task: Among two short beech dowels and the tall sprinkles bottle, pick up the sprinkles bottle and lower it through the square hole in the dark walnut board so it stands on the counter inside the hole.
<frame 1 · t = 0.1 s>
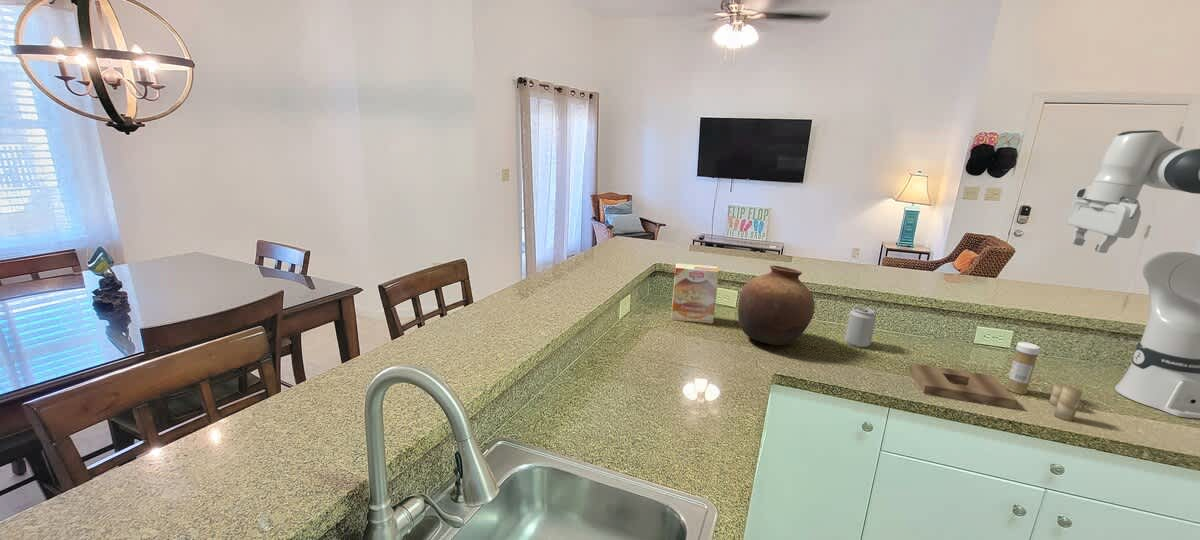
hand: (1088, 248, 125), 39 cm above the worktop, tool pointing down, fingers open, 8 cm apart
walnut board: (957, 388, 130), on the worktop
pottery: (770, 341, 158), on the worktop
can: (857, 344, 158), on the worktop
sprinkles bottle: (1015, 391, 131), on the worktop
medium beech dowel: (1063, 417, 118), on the worktop
coffeecake box: (691, 319, 175), on the worktop
short beech dowel: (1057, 404, 124), on the worktop
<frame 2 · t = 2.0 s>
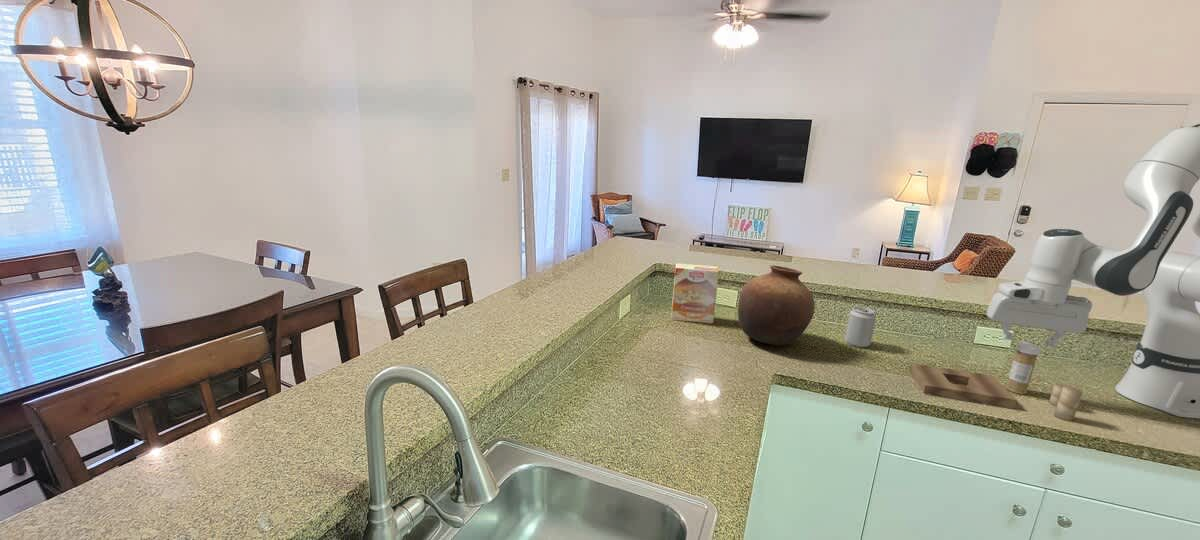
hand: (1027, 342, 127), 14 cm above the worktop, tool pointing down, fingers open, 8 cm apart
nothing on the worktop moved.
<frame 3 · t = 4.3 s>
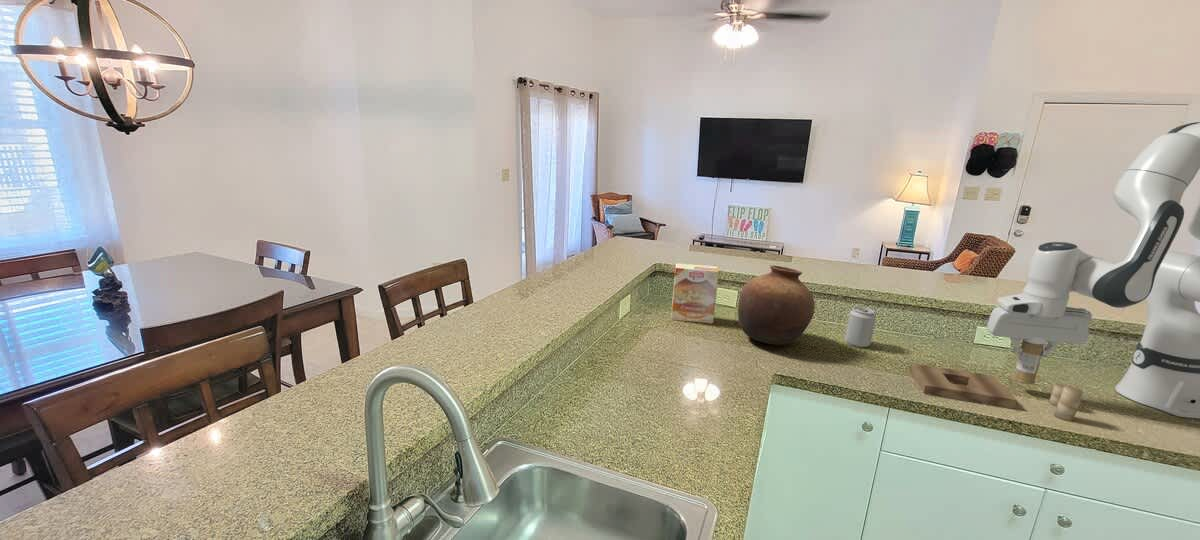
hand: (1030, 354, 128), 11 cm above the worktop, tool pointing down, fingers open, 4 cm apart
sprinkles bottle: (1023, 381, 130), point 3 cm above the worktop
everything else where it was.
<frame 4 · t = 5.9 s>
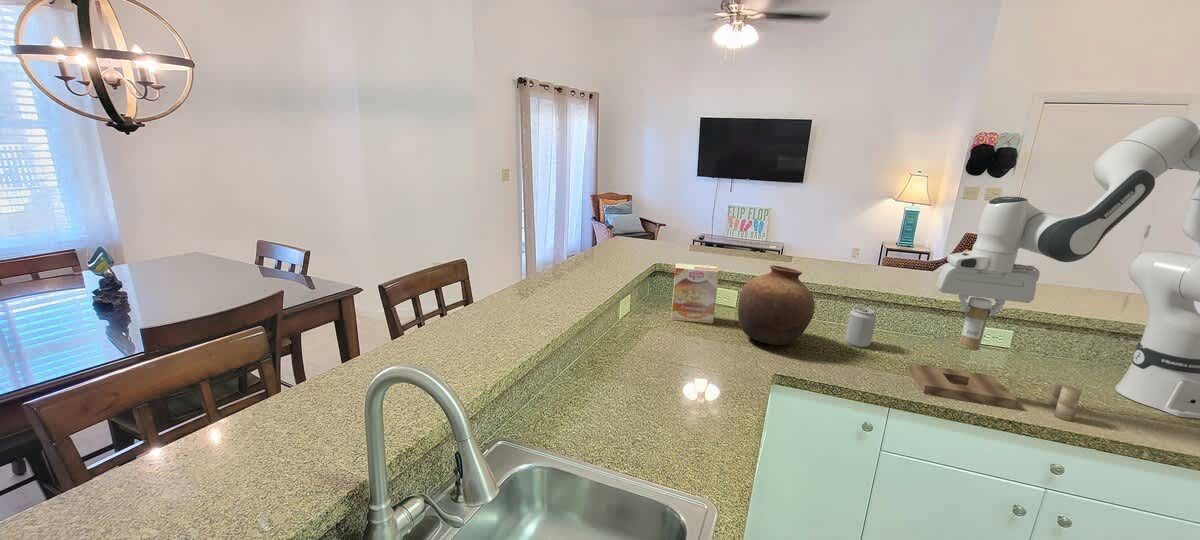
hand: (977, 313, 125), 22 cm above the worktop, tool pointing down, fingers closed on sprinkles bottle, 4 cm apart
sprinkles bottle: (968, 348, 127), point 12 cm above the worktop, touching gripper
everything else where it was.
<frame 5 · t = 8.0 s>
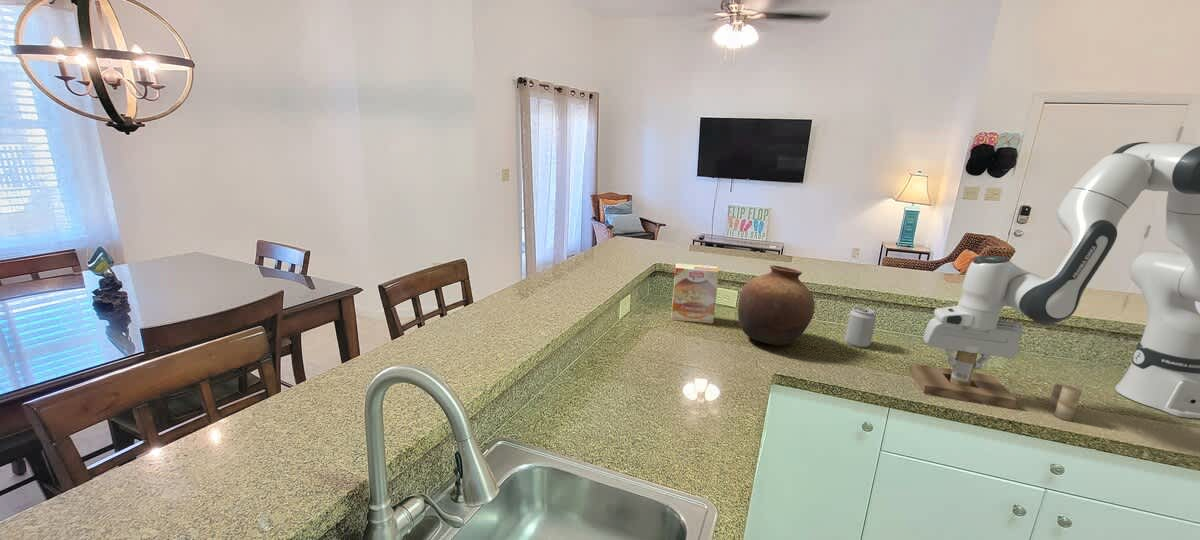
hand: (963, 366, 129), 7 cm above the worktop, tool pointing down, fingers closed on sprinkles bottle, 4 cm apart
sprinkles bottle: (957, 389, 130), resting in walnut board, touching gripper
everything else where it was.
when the fingers open (6 cm above the worktop, at t = 8.4 s): sprinkles bottle stays where it is, resting in walnut board.
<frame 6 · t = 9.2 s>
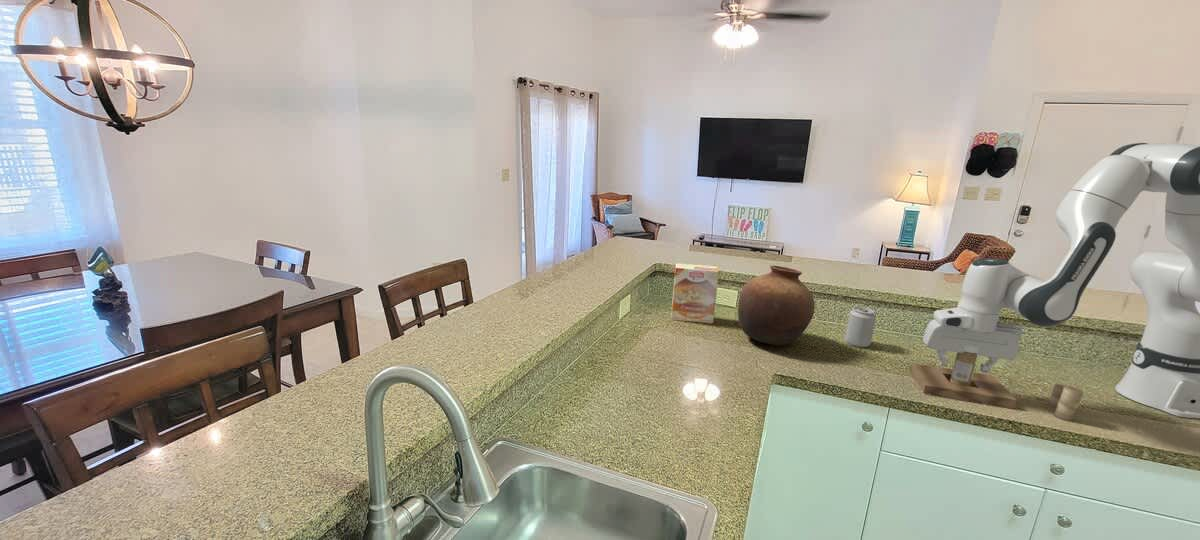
hand: (963, 368, 129), 6 cm above the worktop, tool pointing down, fingers open, 8 cm apart
sprinkles bottle: (957, 389, 130), resting in walnut board
everything else where it was.
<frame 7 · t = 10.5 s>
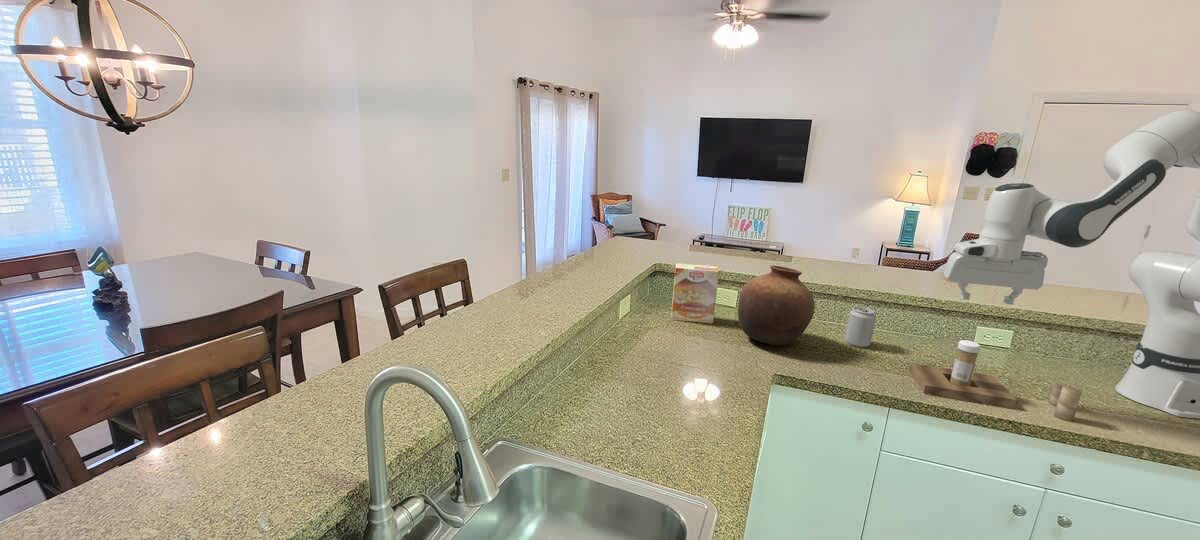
hand: (986, 301, 124), 25 cm above the worktop, tool pointing down, fingers open, 8 cm apart
nothing on the worktop moved.
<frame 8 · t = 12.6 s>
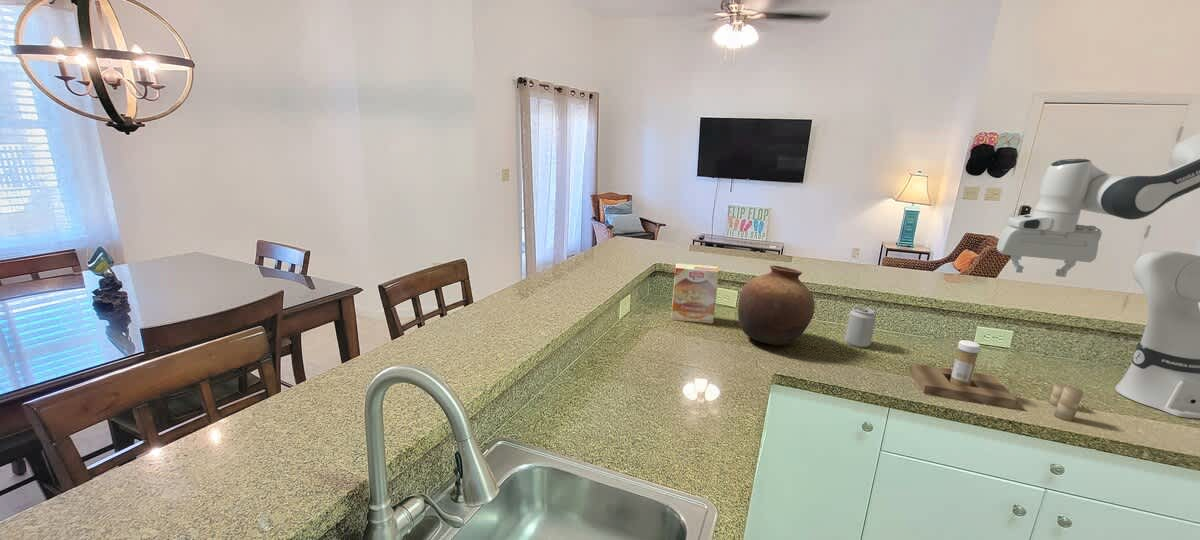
hand: (1038, 274, 129), 31 cm above the worktop, tool pointing down, fingers open, 8 cm apart
nothing on the worktop moved.
at the end: sprinkles bottle 0.2 cm from the walnut board (horizontally); sprinkles bottle resting in walnut board; sprinkles bottle tilted 0° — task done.
